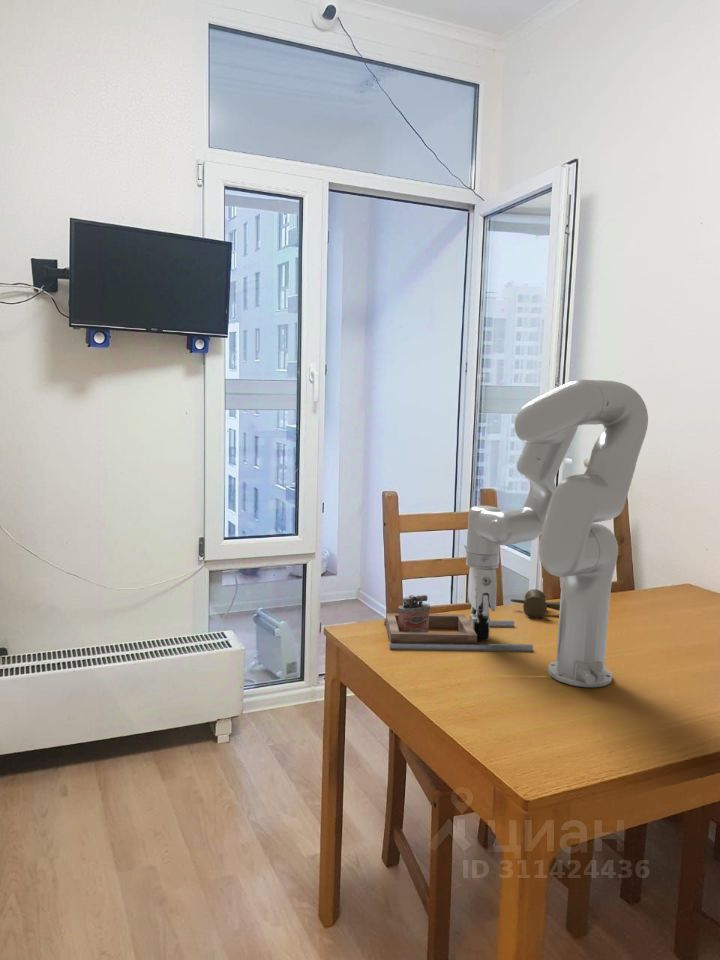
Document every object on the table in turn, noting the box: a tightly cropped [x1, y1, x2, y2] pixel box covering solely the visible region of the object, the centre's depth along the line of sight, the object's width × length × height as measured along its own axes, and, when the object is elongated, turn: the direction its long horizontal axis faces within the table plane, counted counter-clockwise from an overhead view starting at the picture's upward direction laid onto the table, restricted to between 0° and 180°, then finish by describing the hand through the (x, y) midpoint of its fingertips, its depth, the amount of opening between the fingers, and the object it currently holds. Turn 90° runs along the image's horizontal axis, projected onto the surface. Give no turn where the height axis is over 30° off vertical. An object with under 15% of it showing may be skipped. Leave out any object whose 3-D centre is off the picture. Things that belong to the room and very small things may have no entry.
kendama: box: [510, 588, 560, 619], centre depth 189 cm, size 6×10×20 cm
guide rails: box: [383, 618, 534, 652], centre depth 168 cm, size 18×32×2 cm, turn 92°
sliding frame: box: [385, 612, 491, 644], centre depth 168 cm, size 15×23×5 cm, turn 92°
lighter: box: [397, 594, 431, 632], centre depth 167 cm, size 8×3×10 cm, turn 114°
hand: (478, 634), depth 168 cm, fingers closed on sliding frame, 4 cm apart
